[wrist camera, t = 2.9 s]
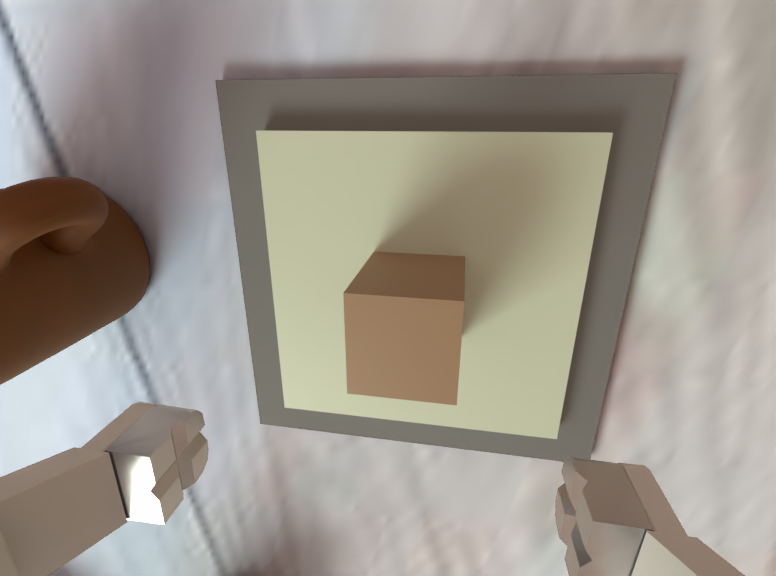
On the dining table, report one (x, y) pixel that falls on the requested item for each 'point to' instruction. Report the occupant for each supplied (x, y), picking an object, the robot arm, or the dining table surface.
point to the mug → (63, 268)
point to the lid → (431, 271)
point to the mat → (457, 113)
